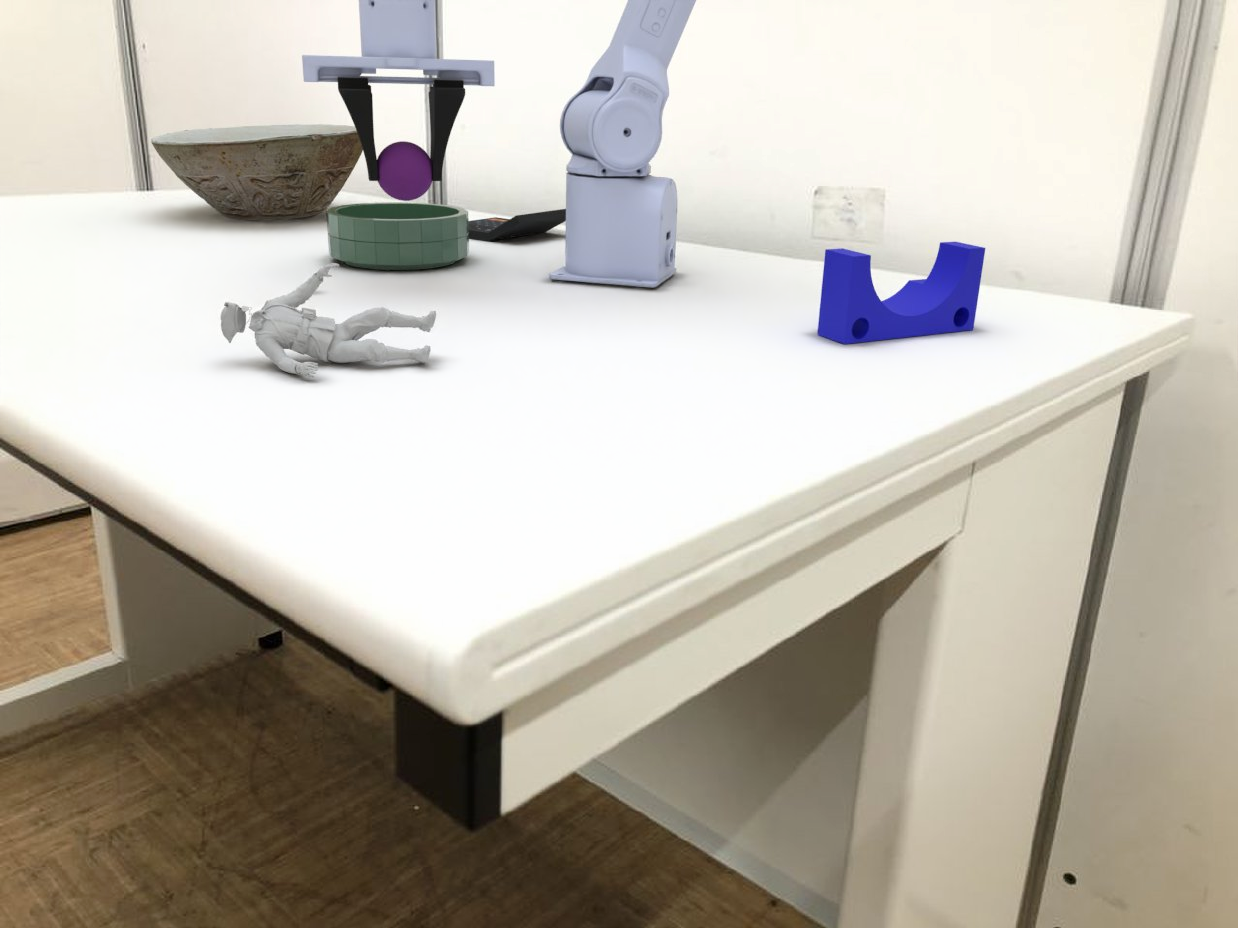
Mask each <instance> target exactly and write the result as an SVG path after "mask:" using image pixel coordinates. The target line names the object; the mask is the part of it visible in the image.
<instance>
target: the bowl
mask: <svg viewBox="0 0 1238 928" xmlns="http://www.w3.org/2000/svg"><path fill="white" fill-rule="evenodd" d="M150 139H151V140H150V141H151V145H152V146H153V149H154V150H155V151H156V153H157V154H158V156H159V157H160V158H161V160H162V161H163V162H164V163H165V164H166V166H168V168H169V169H170V170H171V171H172V172H173V173H174V174H175V176H176V177H177V178H178V179H179V180H180V181H181V182H182V183H183V184H184V185H185V186H186V187H187V188H189V189H190V190H191V191H192V192H193V193H194V194H196V195H197V197H199V198H201V199H202V200H204V201H205V202H206V203H207V204H208V205H209V206H210V207H211V208H212V209H214V210H215V211H216V212H218V213H219V214H221V215H222V216H224V217H227V218H230V219H236V220H243V221H269V220H270V221H271V220H272V221H274V220H276V221H277V220H289V219H299V218H305V217H311V216H315V215H316V216H317V215H318V214H321V213H324V211H326V210H327V208H329V206H330V205H331V204H332V203H333V202H334V200H335V199H336V197H337V196H338V194H339V193H340V192H341V190H342V189H343V187H344V186H345V185H346V182H347V181H348V179H349V178H350V176H351V174H352V172H353V171H354V169H355V167H356V165H357V163H358V161H359V159H360V158H361V155H362V154H363V148H362V145H361V142H360V139H359V136H358V133H357V131H356V128H355V125H354V126H353V125H346V124H345V125H343V124H342V125H341V124H323V123H322V124H321V123H320V124H271V125H270V124H269V125H247V126H246V125H245V126H242V125H241V126H233V127H232V126H231V127H215V128H213V127H212V128H210V127H209V128H195V129H185V130H181V131H176V132H170V133H165V134H163V135H158V136H154V137H152V138H150Z"/></svg>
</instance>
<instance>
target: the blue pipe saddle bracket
mask: <svg viewBox="0 0 1238 928" xmlns="http://www.w3.org/2000/svg"><path fill="white" fill-rule="evenodd" d="M937 251H938V252H937V255H936V258H935V261H934V264H933V266H932V268H931V270H930V272H929V274H928V276H927V277H926V278H923V279H922V278H921V279H910V280H908V281H907V282H906V283H905V284H904V286H902V288H900V289H899V290H898V291H897V292H896V293H894V294H893V295H891V296H890V297H888V298H886V299H884V300H881V299H880V297H879V295H878V293H877V291H876V288H875V286H874V281H873V278H872V270H871V269H872V268H871V267H872V266H871V265H872V263H871V261H872V260H871V259H872V255H871V254H868V253H863V252H859V251H855V250H852V249H846V248H844V247H843V248H827V249H825V251H824V260H823V261H824V262H823V270H822V281H821V294H820V302H819V311H818V324H817V332H816V333H817V334H816V335H817V336H820V337H822V338H823V337H824V338H826V339H828V340H831V341H834V342H837V343H840V344H843V345H848V344H858V343H866V342H867V343H868V342H877V341H883V340H884V341H885V340H893V339H895V340H896V339H903V338H913V337H922V336H930V335H941V334H947V333H948V334H949V333H957V332H965V331H974V329H975V328H974V327H975V321H976V315H977V308H978V301H979V294H980V287H981V282H982V281H981V280H982V274H983V269H984V267H983V266H984V260H985V253H986V247H984V246H978V245H974V244H968V243H964V242H960V241H942V242H939V246H938V250H937Z"/></svg>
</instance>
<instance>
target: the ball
mask: <svg viewBox="0 0 1238 928" xmlns="http://www.w3.org/2000/svg"><path fill="white" fill-rule="evenodd" d="M377 165H378V181H377V184H378V185H379V187H380V188H381V190H382V191H383V192H384V193H385V194H386V195H388V196H389V197H391V198H393V199H394V200H398V201H401V202H402V201H403V202H409V201H414V200H417V199H420V198H421V197H422V196H424V195H425V194H426V193H427V192H428V191H429V189H430V188H431V186H432V184H433V181H432V162H431V159H430V156H429V154H428V153H427V152H426V150H425V149H424V148H422V147H421V146H419V145H418V144H416V143H414V142H410V141H404V140H403V141H395V142H392V143H390V144H388V145H387V146H385V147H384V148H383V149H382V151H381V152H380V153H379V155H378V156H377Z"/></svg>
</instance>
